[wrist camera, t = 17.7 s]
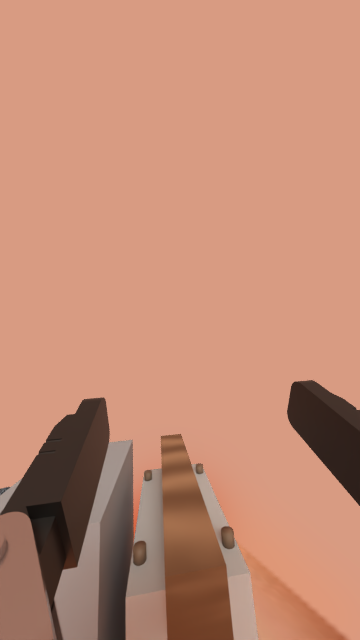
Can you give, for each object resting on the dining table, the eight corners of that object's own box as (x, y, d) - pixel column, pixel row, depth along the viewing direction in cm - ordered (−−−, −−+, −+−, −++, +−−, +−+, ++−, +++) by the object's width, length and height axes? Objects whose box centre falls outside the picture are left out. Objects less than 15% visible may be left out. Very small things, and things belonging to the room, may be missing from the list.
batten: (161, 459, 38) (160, 436, 39) (182, 456, 39) (180, 434, 40) (168, 665, 11) (164, 576, 12) (234, 649, 12) (226, 565, 13)
